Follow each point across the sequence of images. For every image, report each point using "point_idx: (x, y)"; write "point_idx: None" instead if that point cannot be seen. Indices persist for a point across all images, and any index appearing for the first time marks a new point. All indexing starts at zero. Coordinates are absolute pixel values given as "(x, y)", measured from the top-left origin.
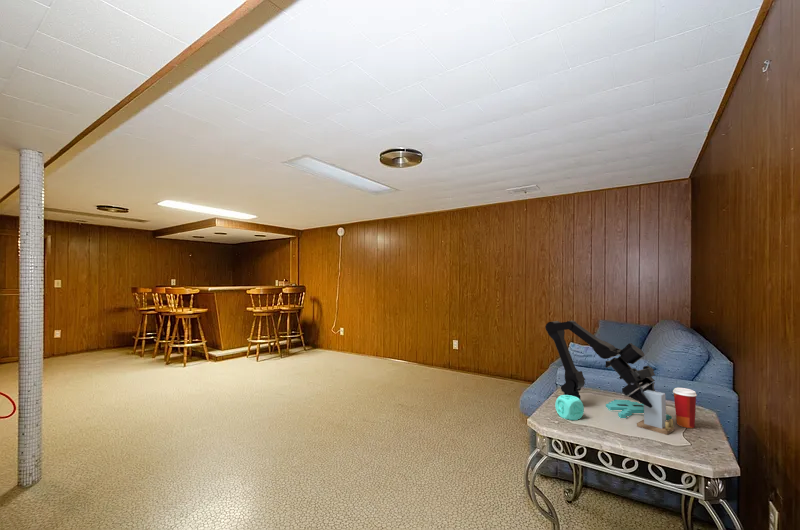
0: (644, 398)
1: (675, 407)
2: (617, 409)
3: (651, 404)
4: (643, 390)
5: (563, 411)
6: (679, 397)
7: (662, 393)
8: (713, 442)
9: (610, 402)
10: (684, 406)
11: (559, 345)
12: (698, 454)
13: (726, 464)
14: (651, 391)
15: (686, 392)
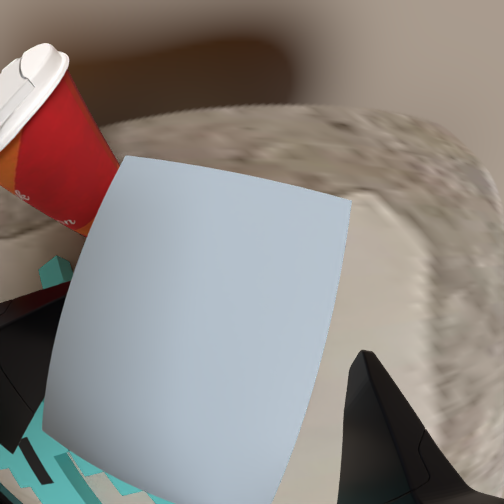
0: (420, 443)
1: (58, 205)
2: (86, 492)
3: (367, 361)
4: (5, 434)
5: None
6: (45, 128)
7: (158, 189)
8: (272, 123)
9: (40, 500)
10: (89, 141)
11: None
12: (442, 179)
13: (443, 129)
14: (120, 391)
15: (46, 58)
